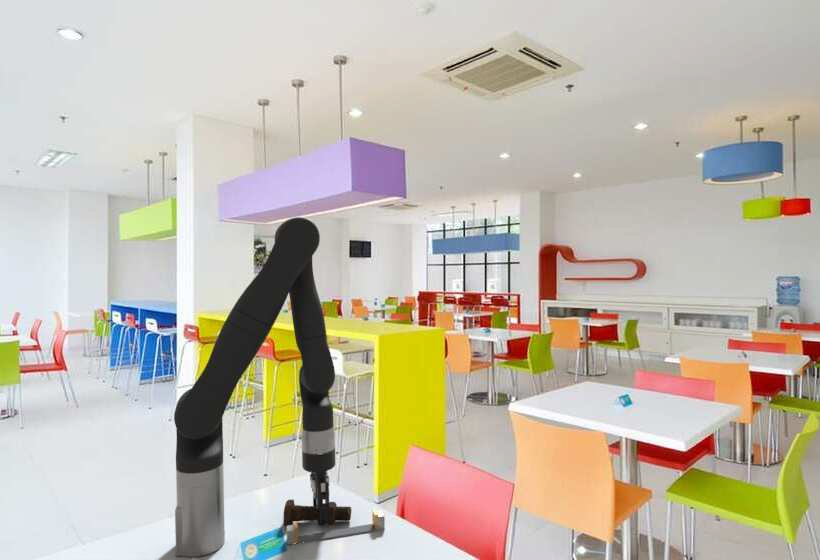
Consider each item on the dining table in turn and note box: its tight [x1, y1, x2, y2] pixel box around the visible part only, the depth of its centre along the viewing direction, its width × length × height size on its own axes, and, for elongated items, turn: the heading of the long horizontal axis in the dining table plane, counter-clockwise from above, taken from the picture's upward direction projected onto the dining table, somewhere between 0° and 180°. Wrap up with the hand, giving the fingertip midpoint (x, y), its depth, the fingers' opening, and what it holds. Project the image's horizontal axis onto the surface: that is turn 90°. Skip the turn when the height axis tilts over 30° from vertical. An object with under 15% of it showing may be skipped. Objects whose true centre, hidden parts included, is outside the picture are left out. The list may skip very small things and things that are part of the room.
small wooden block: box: [371, 509, 386, 532], centre depth 113 cm, size 2×2×4 cm
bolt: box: [282, 499, 352, 528], centre depth 116 cm, size 6×5×15 cm
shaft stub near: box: [286, 521, 299, 546], centre depth 108 cm, size 2×2×4 cm
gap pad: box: [298, 523, 376, 544], centre depth 111 cm, size 17×3×1 cm, turn 107°
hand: (320, 516), depth 116 cm, fingers open, 8 cm apart
